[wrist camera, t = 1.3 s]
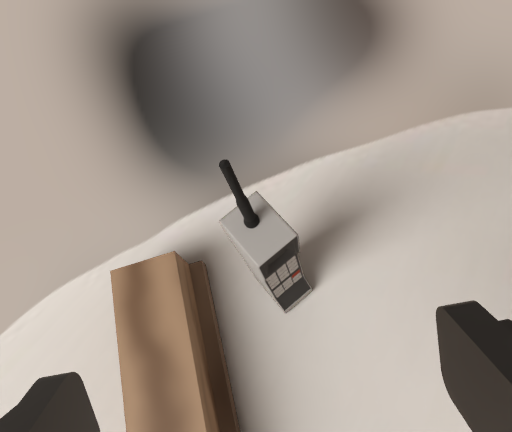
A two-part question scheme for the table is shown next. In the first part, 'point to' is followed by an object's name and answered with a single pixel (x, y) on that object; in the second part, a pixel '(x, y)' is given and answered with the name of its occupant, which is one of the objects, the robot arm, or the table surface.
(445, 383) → the robot arm
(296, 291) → the vintage mobile phone
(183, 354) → the walnut ridge
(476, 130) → the table surface
